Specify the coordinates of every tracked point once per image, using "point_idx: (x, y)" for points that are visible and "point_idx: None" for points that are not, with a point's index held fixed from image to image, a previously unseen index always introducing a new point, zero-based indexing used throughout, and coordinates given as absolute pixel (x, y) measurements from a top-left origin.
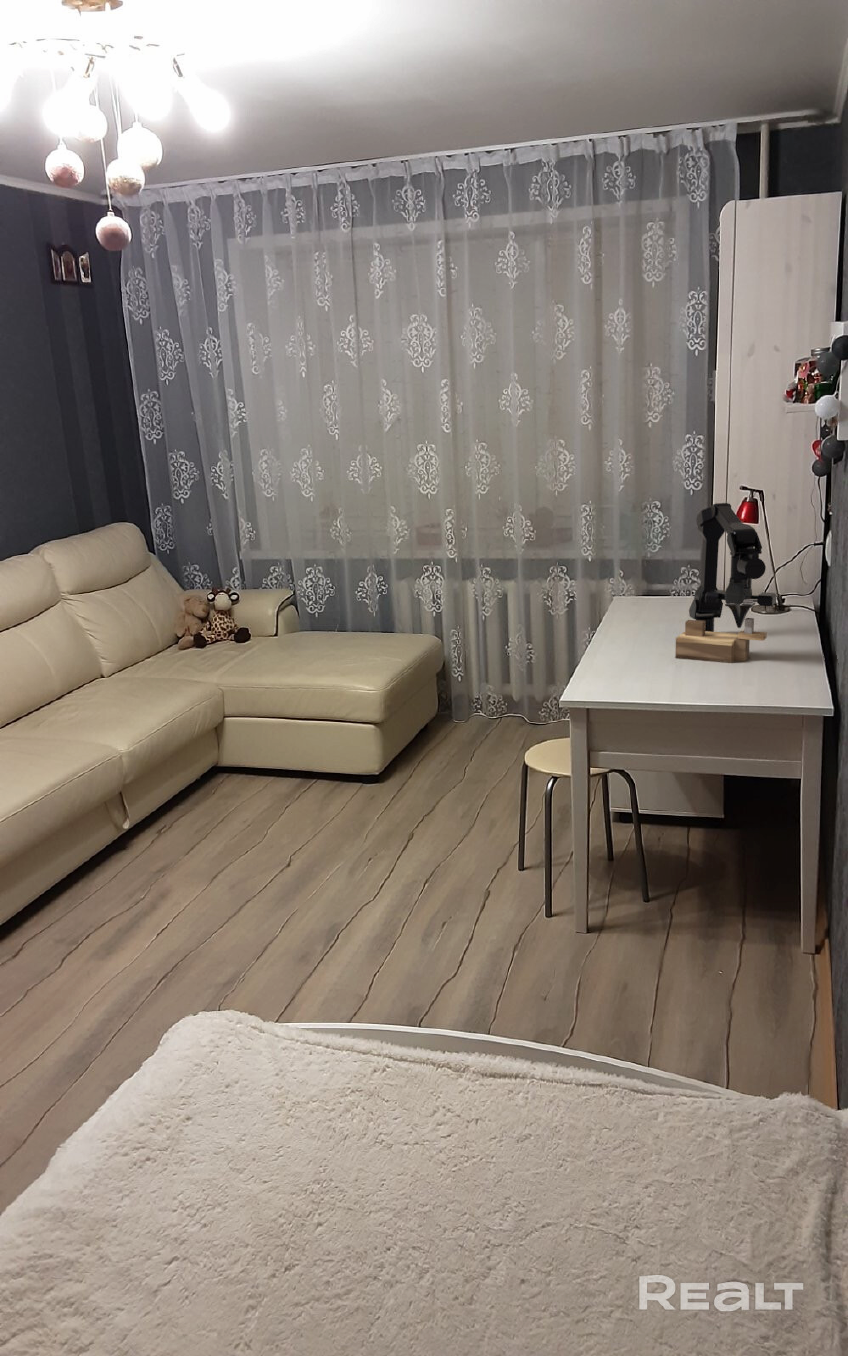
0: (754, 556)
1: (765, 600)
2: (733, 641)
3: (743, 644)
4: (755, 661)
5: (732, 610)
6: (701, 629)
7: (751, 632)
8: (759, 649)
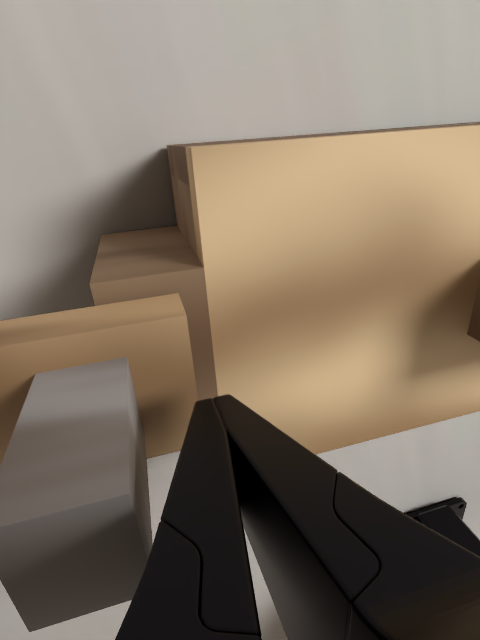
0: None
1: None
2: (198, 223)
3: (110, 270)
4: (46, 287)
5: (465, 574)
6: None
7: (32, 385)
8: (156, 509)
